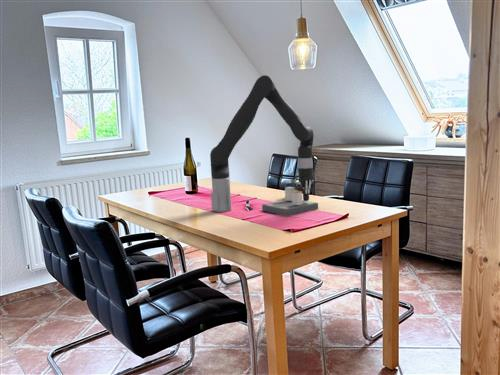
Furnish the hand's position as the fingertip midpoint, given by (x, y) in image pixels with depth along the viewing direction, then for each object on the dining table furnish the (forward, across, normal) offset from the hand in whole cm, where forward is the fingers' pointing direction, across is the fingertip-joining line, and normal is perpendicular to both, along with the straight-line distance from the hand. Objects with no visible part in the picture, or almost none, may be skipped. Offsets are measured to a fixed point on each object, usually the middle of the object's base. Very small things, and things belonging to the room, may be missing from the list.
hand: (306, 200), depth 245 cm
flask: (+5, +16, +27) cm, 32 cm away
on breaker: (+1, -1, +11) cm, 11 cm away
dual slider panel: (+4, -6, +5) cm, 9 cm away
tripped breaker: (+1, -6, 0) cm, 6 cm away
